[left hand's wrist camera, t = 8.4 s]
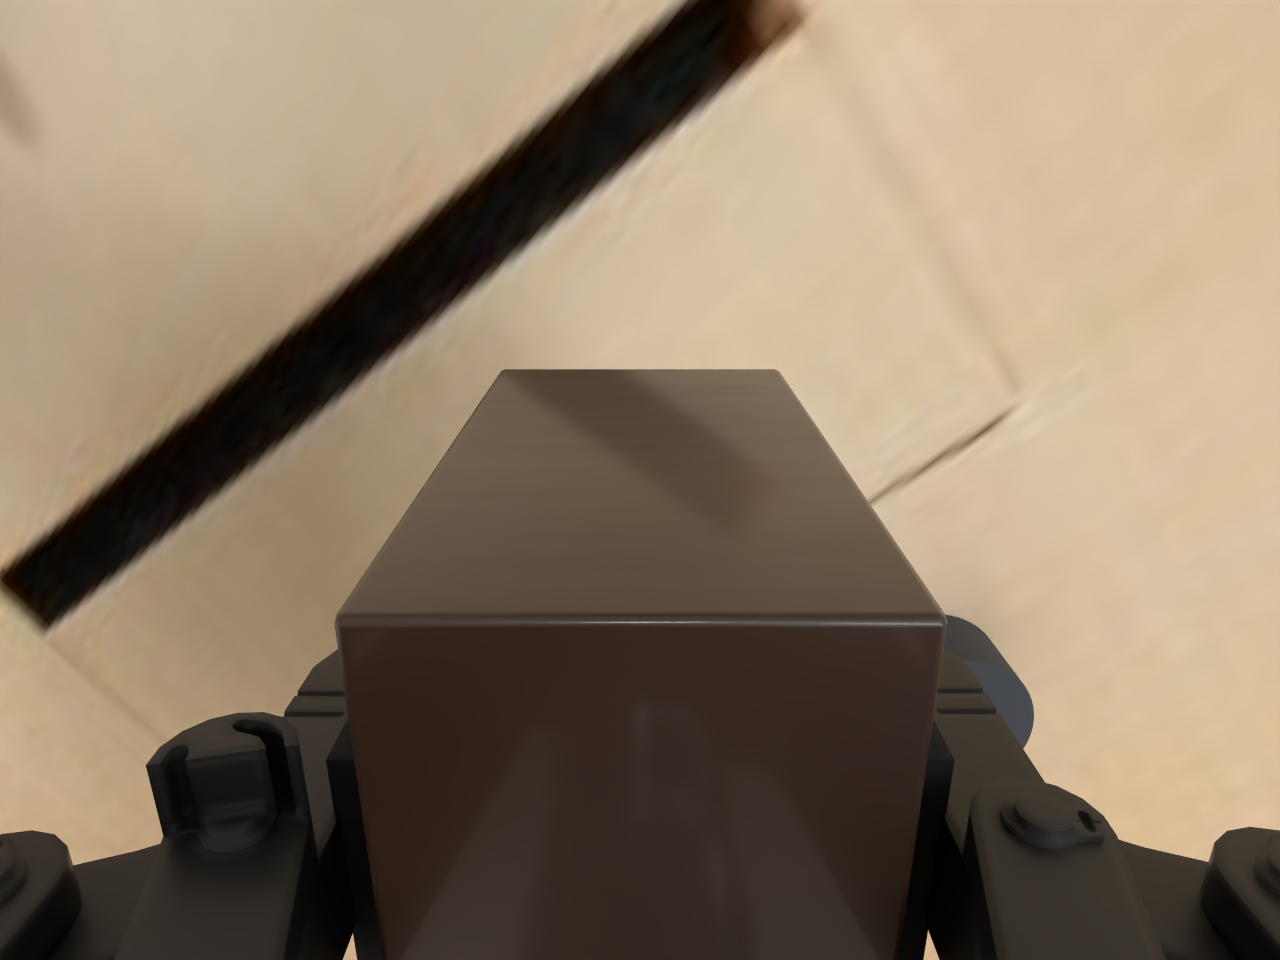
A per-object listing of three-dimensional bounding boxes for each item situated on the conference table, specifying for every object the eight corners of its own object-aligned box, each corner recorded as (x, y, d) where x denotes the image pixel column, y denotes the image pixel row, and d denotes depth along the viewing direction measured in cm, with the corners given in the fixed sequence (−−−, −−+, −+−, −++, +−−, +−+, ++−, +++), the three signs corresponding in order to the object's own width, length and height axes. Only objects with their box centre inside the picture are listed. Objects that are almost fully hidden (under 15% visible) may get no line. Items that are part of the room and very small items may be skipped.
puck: (865, 614, 30) (889, 660, 27) (1007, 614, 30) (1046, 660, 27) (853, 732, 31) (874, 787, 29) (987, 732, 31) (1022, 787, 29)
